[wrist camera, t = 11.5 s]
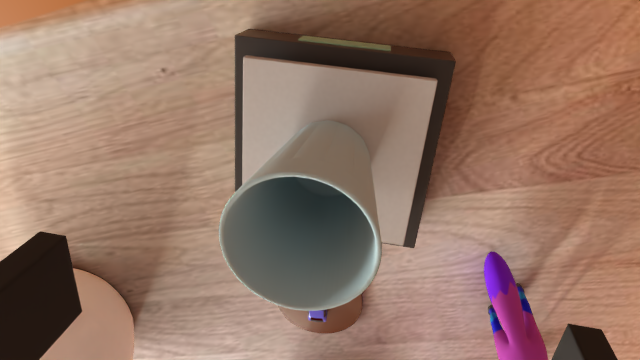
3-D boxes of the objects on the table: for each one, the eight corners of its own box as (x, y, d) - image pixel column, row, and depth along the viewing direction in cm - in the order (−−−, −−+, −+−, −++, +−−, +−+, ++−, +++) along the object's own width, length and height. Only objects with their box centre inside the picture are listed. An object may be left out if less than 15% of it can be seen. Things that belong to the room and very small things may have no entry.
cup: (412, 164, 29) (417, 259, 20) (328, 227, 32) (300, 335, 23) (331, 78, 27) (296, 138, 18) (252, 154, 31) (188, 237, 21)
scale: (248, 27, 31) (227, 36, 27) (451, 50, 30) (459, 64, 26) (246, 201, 38) (228, 229, 34) (413, 227, 36) (414, 259, 32)
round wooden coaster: (363, 265, 39) (362, 276, 37) (361, 334, 42) (360, 346, 41) (274, 258, 40) (269, 269, 38) (279, 325, 43) (275, 337, 42)
